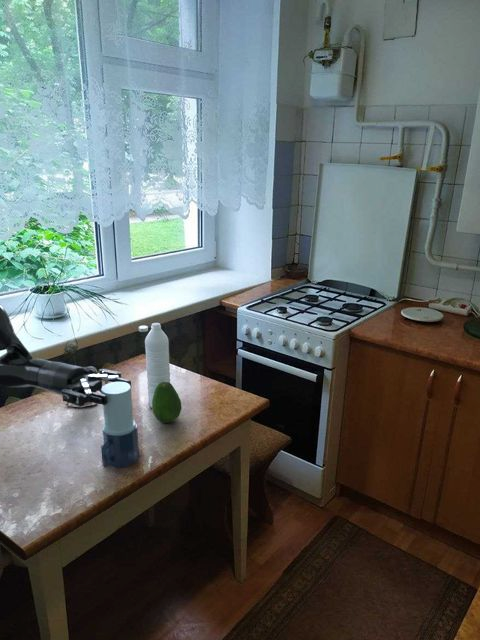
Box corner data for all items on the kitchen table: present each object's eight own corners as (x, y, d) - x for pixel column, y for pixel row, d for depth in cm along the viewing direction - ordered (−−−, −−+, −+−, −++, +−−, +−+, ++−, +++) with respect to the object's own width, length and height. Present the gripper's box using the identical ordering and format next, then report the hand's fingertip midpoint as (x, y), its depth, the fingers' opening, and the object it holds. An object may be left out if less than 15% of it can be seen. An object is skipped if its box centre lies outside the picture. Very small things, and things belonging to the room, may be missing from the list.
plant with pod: (98, 411, 140) (91, 346, 133) (61, 407, 142) (53, 342, 134) (111, 399, 147) (106, 336, 140) (76, 394, 149) (69, 332, 142)
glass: (135, 434, 114) (132, 393, 110) (101, 436, 112) (97, 395, 109) (136, 418, 120) (133, 379, 117) (104, 420, 119) (100, 381, 115)
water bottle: (161, 396, 150) (157, 318, 140) (175, 403, 146) (172, 323, 137) (137, 406, 143) (132, 325, 134) (151, 414, 140) (147, 331, 130)
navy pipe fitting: (117, 446, 124) (115, 416, 121) (145, 453, 122) (143, 422, 119) (90, 470, 114) (86, 438, 111) (119, 478, 112) (116, 446, 109)
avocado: (147, 421, 136) (145, 381, 132) (171, 411, 141) (169, 373, 137) (164, 432, 131) (162, 391, 126) (188, 422, 136) (187, 383, 132)
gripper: (37, 376, 111) (96, 390, 105) (82, 354, 123) (136, 366, 117) (42, 405, 113) (99, 421, 108) (85, 381, 126) (138, 394, 120)
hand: (118, 392), depth 113 cm, fingers open, 8 cm apart
